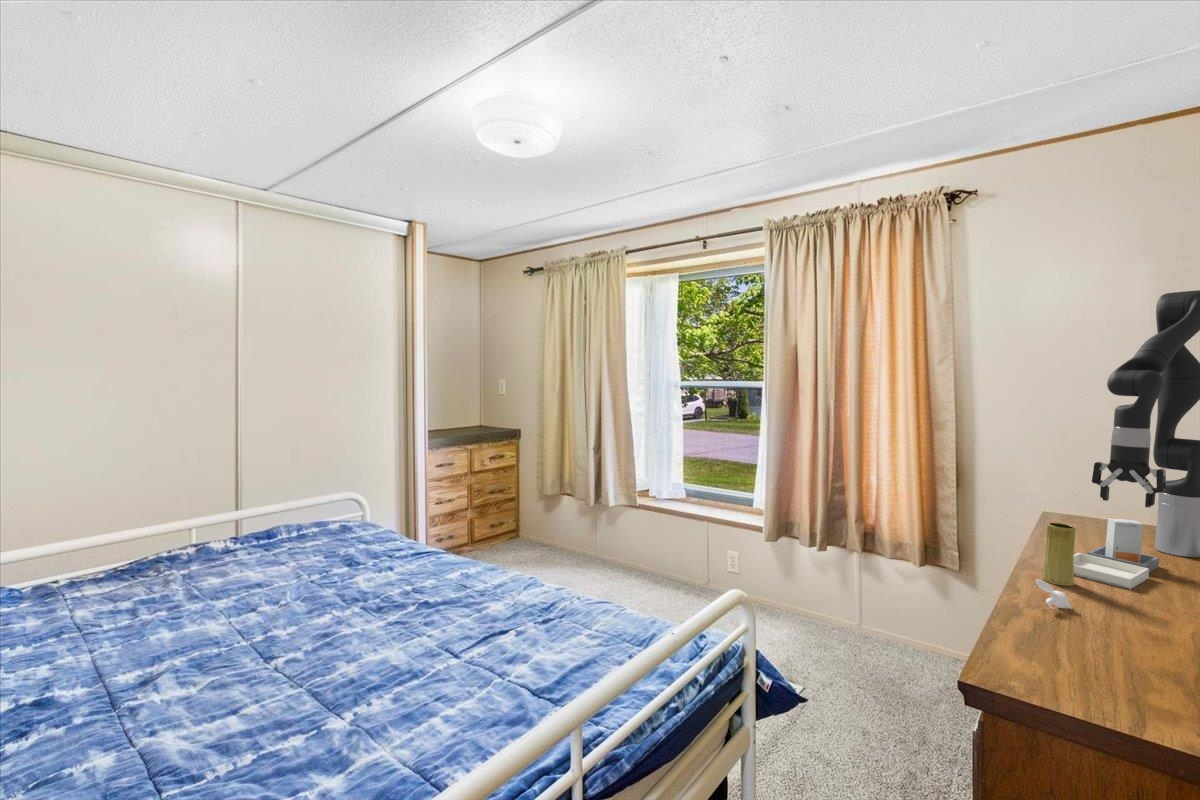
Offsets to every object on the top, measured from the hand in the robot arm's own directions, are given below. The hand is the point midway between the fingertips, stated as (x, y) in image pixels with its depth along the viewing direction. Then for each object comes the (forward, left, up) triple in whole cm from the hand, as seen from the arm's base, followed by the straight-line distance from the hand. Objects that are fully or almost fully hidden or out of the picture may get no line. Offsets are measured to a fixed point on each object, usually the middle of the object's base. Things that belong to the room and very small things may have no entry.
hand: (1126, 503), depth 147 cm
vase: (+31, -4, -17) cm, 36 cm away
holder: (0, 0, -17) cm, 17 cm away
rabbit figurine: (+50, +1, -17) cm, 53 cm away
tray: (+15, 0, -17) cm, 22 cm away
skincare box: (0, 0, -17) cm, 17 cm away
